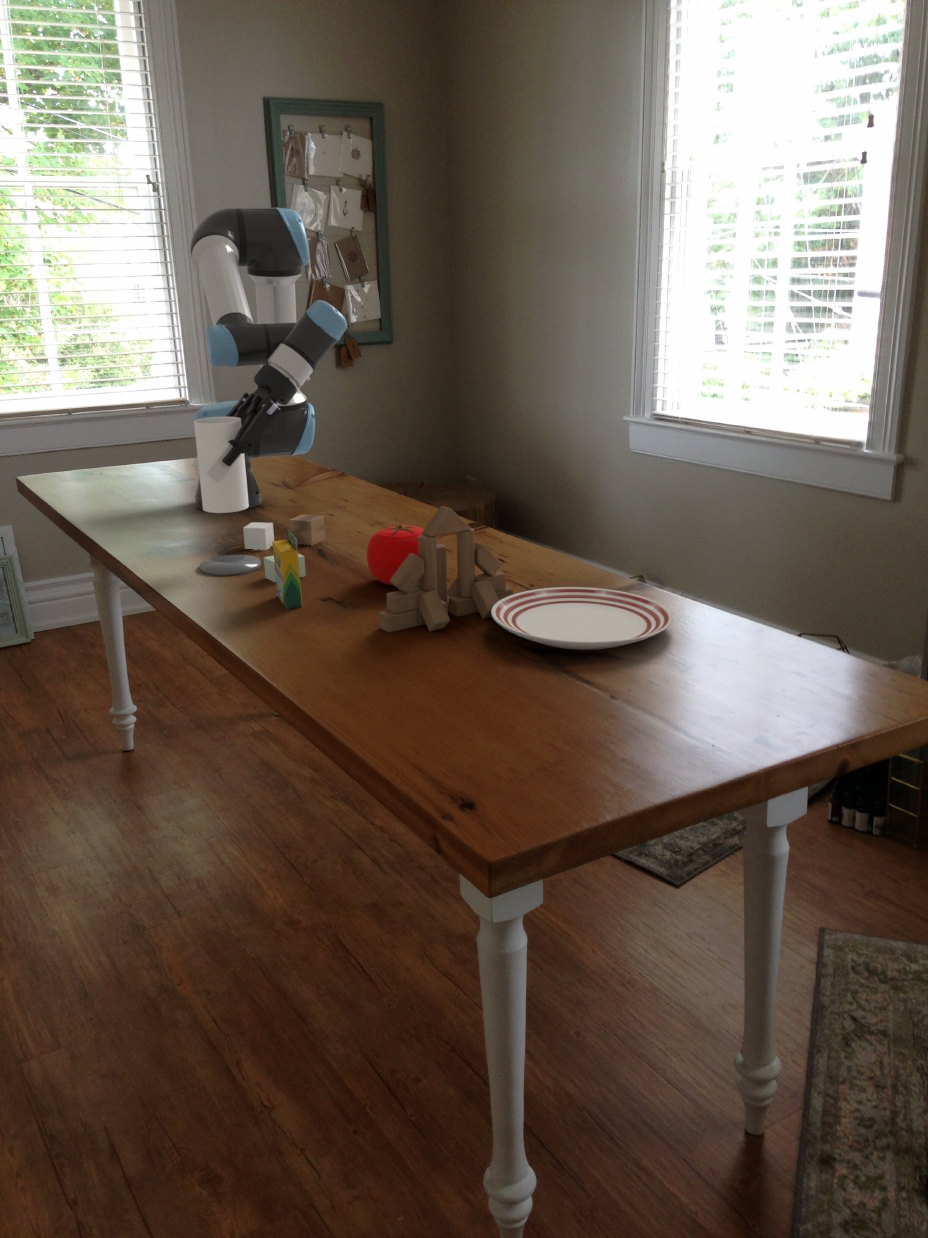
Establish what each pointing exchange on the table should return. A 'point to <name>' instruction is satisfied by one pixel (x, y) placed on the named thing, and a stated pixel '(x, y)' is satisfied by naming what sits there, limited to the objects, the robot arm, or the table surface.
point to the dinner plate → (581, 617)
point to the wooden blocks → (443, 579)
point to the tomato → (391, 550)
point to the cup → (209, 446)
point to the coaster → (230, 565)
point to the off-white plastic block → (258, 536)
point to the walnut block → (308, 529)
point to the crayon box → (287, 572)
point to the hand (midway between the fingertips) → (204, 473)
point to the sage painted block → (271, 567)
